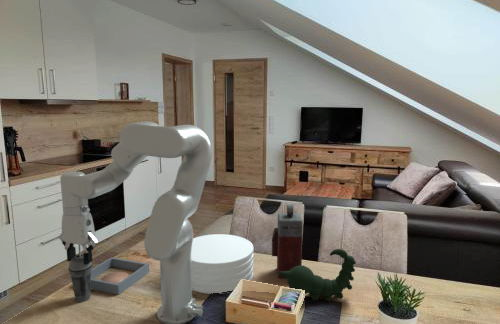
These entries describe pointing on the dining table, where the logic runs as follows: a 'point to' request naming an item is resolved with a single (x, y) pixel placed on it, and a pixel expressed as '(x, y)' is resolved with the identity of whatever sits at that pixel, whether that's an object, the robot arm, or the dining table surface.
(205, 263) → the plate stack
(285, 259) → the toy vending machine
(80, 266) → the beverage cup
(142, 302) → the dining table surface
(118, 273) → the grey square frame
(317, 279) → the toy figurine
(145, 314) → the dining table surface
